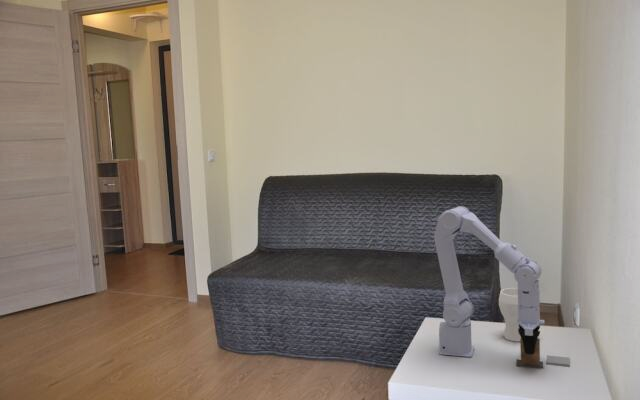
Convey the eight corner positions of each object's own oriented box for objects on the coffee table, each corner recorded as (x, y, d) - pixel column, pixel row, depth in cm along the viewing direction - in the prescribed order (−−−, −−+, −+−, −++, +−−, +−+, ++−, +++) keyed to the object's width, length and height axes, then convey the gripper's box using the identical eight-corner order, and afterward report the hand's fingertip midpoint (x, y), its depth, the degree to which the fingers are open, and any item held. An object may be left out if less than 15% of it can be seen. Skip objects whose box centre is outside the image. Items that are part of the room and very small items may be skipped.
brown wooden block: (520, 364, 154) (520, 340, 153) (521, 360, 156) (520, 337, 156) (539, 365, 152) (539, 341, 151) (539, 362, 154) (539, 338, 154)
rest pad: (516, 366, 154) (516, 364, 154) (516, 360, 158) (516, 359, 157) (543, 368, 151) (543, 367, 151) (542, 362, 155) (542, 361, 155)
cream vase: (530, 345, 168) (530, 298, 166) (495, 340, 174) (494, 294, 172) (537, 334, 177) (536, 289, 175) (504, 330, 183) (503, 286, 181)
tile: (546, 362, 154) (569, 364, 151) (546, 355, 158) (569, 357, 156) (546, 366, 154) (569, 368, 151) (547, 359, 158) (569, 361, 156)
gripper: (544, 313, 144) (545, 363, 146) (543, 298, 158) (544, 343, 159) (516, 312, 147) (517, 360, 148) (517, 297, 160) (518, 341, 162)
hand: (529, 351), depth 154 cm, fingers closed on brown wooden block, 2 cm apart
